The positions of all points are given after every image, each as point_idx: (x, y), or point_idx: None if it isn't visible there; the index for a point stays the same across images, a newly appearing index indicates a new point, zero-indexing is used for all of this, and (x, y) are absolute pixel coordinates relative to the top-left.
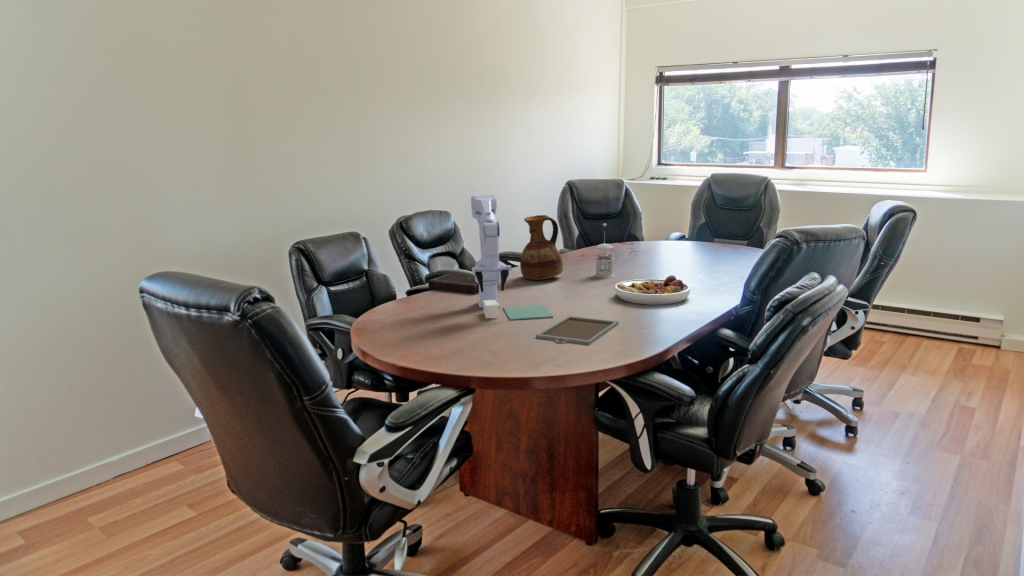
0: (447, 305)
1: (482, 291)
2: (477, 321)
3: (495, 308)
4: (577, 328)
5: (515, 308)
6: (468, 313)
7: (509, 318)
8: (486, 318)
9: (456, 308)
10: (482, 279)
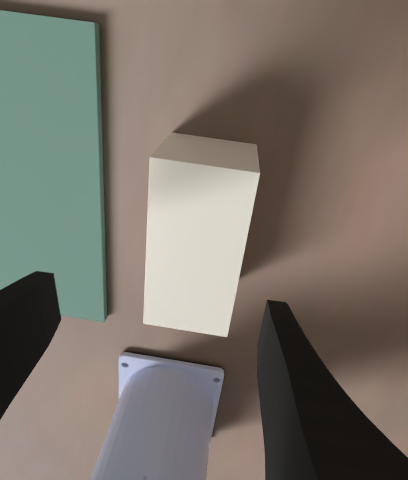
0: None
1: (279, 303)
2: (344, 91)
3: (179, 154)
4: None
5: None
6: (318, 302)
7: (99, 69)
8: (256, 144)
9: None
10: (310, 432)
